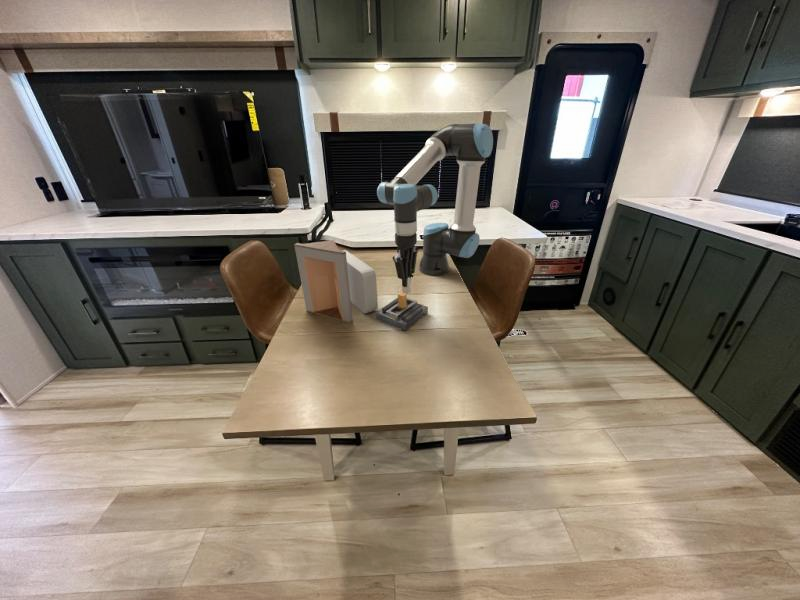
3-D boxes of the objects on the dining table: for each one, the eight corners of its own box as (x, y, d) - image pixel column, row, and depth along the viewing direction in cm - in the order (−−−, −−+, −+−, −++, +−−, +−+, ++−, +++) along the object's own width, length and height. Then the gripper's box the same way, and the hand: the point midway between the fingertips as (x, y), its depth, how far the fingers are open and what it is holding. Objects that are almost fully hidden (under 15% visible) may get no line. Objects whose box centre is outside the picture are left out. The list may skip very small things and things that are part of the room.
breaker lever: (401, 306, 121) (401, 291, 118) (407, 308, 120) (407, 293, 117) (397, 309, 119) (396, 295, 116) (403, 311, 118) (402, 297, 115)
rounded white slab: (383, 310, 125) (381, 269, 116) (366, 316, 121) (363, 274, 112) (351, 284, 146) (348, 247, 137) (336, 288, 142) (331, 251, 133)
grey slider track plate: (399, 299, 126) (399, 296, 125) (424, 308, 120) (424, 305, 119) (382, 311, 118) (382, 308, 118) (407, 321, 112) (407, 318, 111)
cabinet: (306, 311, 125) (294, 244, 111) (321, 300, 132) (311, 236, 119) (350, 323, 117) (343, 252, 103) (363, 311, 124) (358, 244, 111)
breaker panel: (399, 303, 130) (398, 293, 127) (427, 313, 122) (428, 303, 120) (375, 319, 119) (375, 309, 117) (405, 331, 112) (405, 320, 110)
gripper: (407, 225, 113) (408, 283, 125) (385, 236, 104) (388, 297, 116) (425, 229, 109) (424, 288, 121) (403, 240, 100) (404, 303, 112)
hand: (406, 292), depth 119 cm, fingers closed
